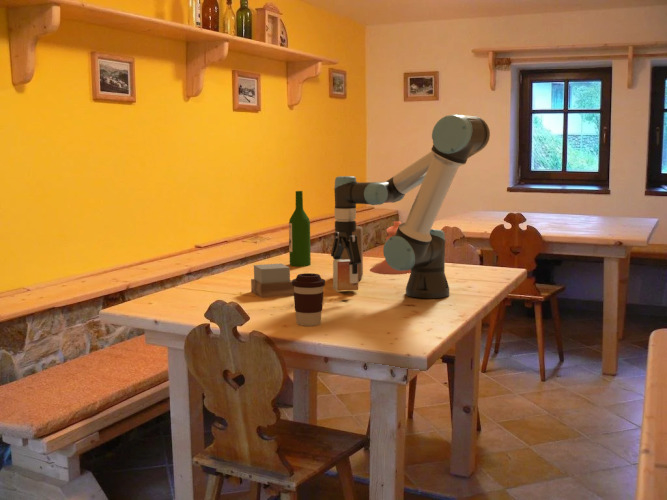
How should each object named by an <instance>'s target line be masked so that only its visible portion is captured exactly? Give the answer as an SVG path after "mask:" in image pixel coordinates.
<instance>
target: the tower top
mask: <svg viewBox="0 0 667 500" xmlns="http://www.w3.org/2000/svg"><path fill="white" fill-rule="evenodd" d="M253 279H255V280H256V281H258V282H259V283H261V284H268V283H282V282H290V280H291V266H287V265H285V264H284V263H268V264H253Z"/></svg>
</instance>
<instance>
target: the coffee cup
mask: <svg viewBox="0 0 667 500" xmlns="http://www.w3.org/2000/svg"><path fill="white" fill-rule="evenodd" d="M292 286H294V295H293V299H294V301H293V302H294V303H293V304H294V311H295V320H296V324H297V325H298V326H300V325H303V326H302V327H317V326H319V325H321V323H322V322H321V321H322V312H323V306H324V305H323V303H324V287H325V286H326V280H325V279H324V278H322V277H321V275H320V274H319V273H308V272H306V273H300V274H297V275H296V278H294V279H292Z"/></svg>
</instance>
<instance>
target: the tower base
mask: <svg viewBox="0 0 667 500" xmlns="http://www.w3.org/2000/svg"><path fill="white" fill-rule="evenodd" d="M292 280H293V279H292ZM292 280H291V279H290V282H282V283H268V284H261V283H259V282H258V281H256V280H255V279H254V278H251V279H250V284H251V285H250V286H251V288H250V289H251V291H250V292H251V293H253V294H254V295H256V296H257V297H259V298H263V299H264V298H276V297H286V296H287V297H288V296H294V286H292Z"/></svg>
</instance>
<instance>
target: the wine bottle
mask: <svg viewBox="0 0 667 500" xmlns="http://www.w3.org/2000/svg"><path fill="white" fill-rule="evenodd" d="M303 193H304V192H303V190H296V191H295V209H294V211H293V213H292V214H291V217H290V218H289V222H288V242H289V243H288V245H289V246H288V247H289V249H288V250H289V267H296V268H297V267H298V268H302V267H309V266H311V263H312V262H311V259H312V258H311V221H310V218H309V216H308V215H307V213H306V211H305V209H304V199H303V197H304V196H303V195H304V194H303Z"/></svg>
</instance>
